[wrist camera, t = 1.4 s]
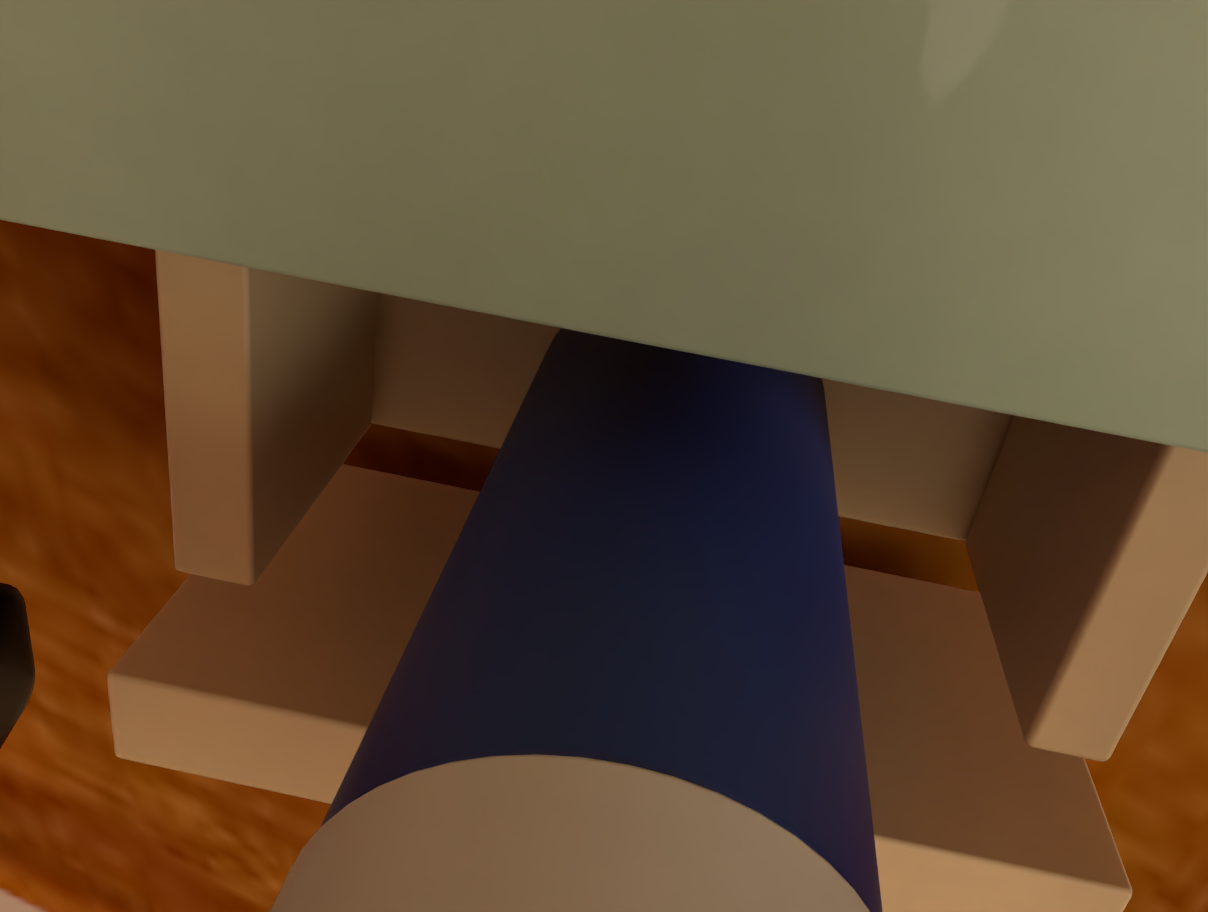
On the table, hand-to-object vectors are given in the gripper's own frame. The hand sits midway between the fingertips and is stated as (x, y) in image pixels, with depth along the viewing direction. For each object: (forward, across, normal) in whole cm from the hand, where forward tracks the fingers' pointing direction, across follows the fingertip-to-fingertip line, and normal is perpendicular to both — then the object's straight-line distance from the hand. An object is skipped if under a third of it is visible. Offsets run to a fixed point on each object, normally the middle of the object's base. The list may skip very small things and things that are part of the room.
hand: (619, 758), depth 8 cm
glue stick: (+6, 0, 0) cm, 6 cm away
